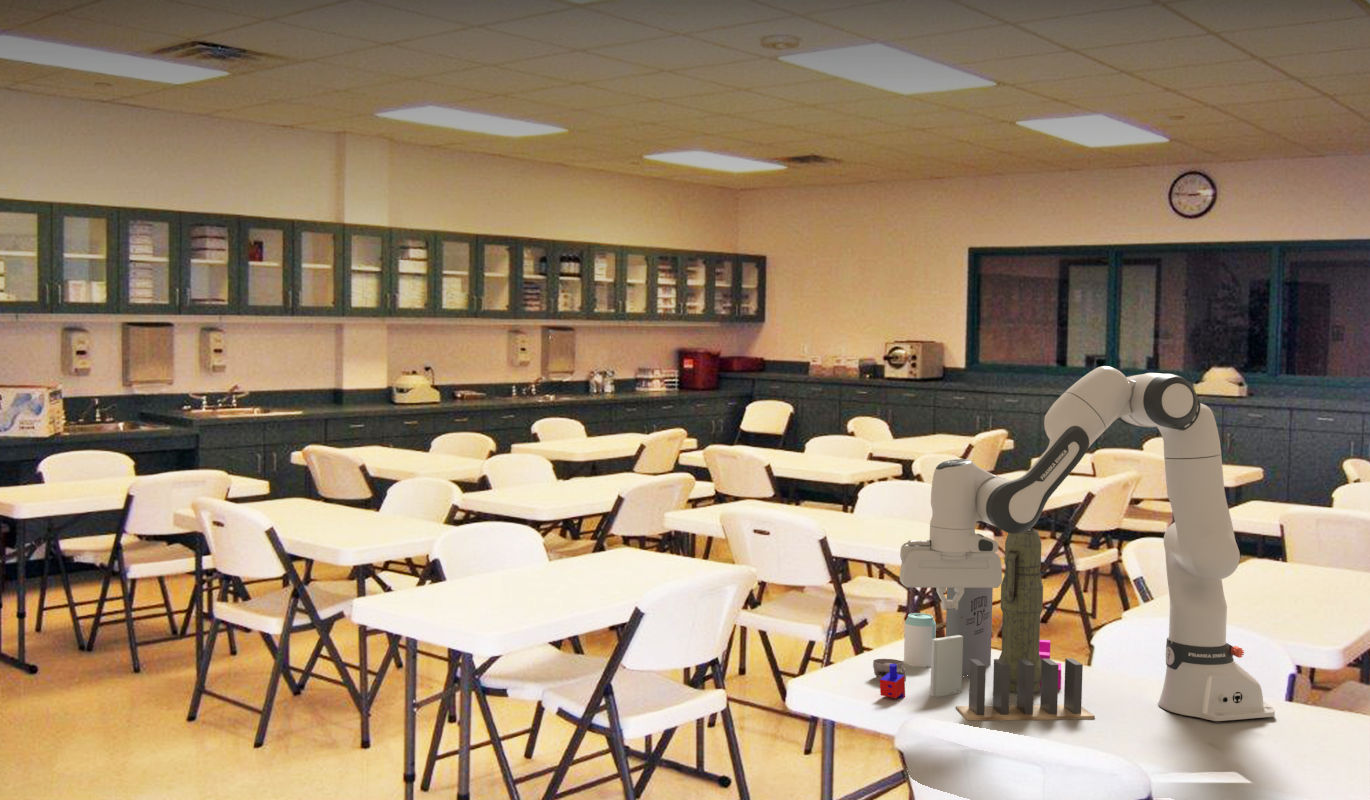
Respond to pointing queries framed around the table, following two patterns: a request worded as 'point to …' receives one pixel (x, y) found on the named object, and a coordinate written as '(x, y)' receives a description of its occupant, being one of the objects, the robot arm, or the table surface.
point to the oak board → (1018, 715)
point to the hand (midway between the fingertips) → (949, 609)
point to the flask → (972, 624)
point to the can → (919, 639)
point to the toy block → (1048, 657)
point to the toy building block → (892, 684)
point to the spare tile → (1025, 686)
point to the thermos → (1022, 604)
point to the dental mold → (887, 667)
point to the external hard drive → (946, 665)
